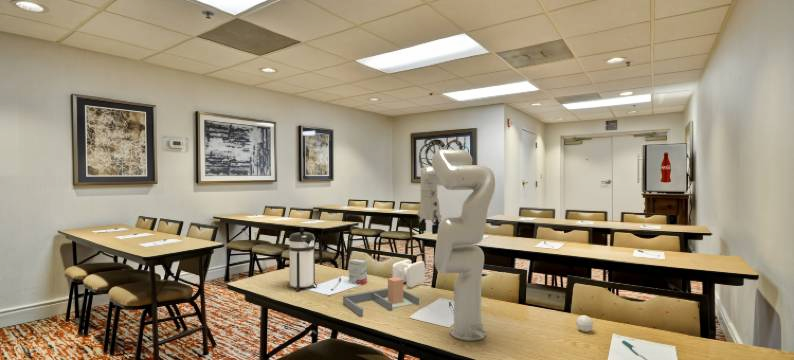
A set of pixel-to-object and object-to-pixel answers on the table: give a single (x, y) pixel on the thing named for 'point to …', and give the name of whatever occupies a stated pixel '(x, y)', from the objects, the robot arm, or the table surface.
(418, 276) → the cable organizer
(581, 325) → the white rounded lump
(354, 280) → the ink box
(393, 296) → the terracotta block
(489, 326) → the table surface
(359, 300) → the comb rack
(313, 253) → the coffee press
